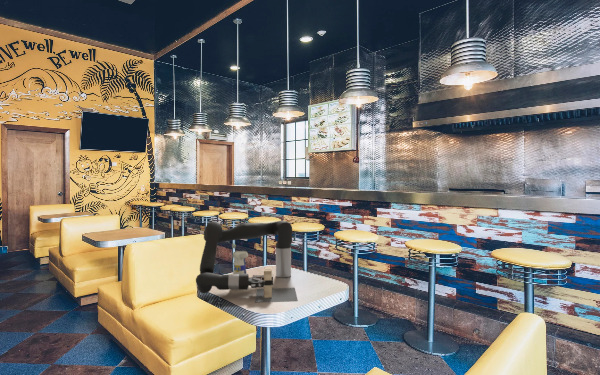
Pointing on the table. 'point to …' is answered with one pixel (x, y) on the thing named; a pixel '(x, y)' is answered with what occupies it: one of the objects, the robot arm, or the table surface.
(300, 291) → the table surface
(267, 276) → the tan two-tone tall block
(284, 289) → the rubber mat
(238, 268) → the water bottle
